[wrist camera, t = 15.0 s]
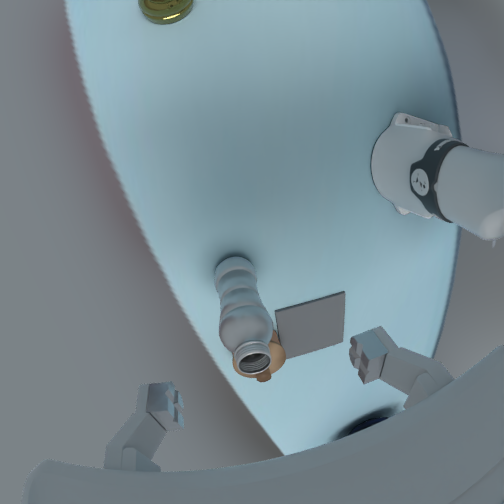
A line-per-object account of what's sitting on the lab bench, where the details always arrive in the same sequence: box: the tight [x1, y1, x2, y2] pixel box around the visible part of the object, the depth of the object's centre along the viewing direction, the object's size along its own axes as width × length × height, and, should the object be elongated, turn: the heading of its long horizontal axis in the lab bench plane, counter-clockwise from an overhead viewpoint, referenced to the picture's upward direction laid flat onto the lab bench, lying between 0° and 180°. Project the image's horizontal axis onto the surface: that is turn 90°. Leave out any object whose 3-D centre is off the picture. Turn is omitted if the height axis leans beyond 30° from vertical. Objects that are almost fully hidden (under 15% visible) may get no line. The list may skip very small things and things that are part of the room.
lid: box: [232, 340, 286, 382], centre depth 46 cm, size 10×10×5 cm
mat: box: [275, 291, 345, 359], centre depth 53 cm, size 14×14×1 cm
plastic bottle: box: [214, 257, 273, 374], centre depth 35 cm, size 6×7×20 cm
